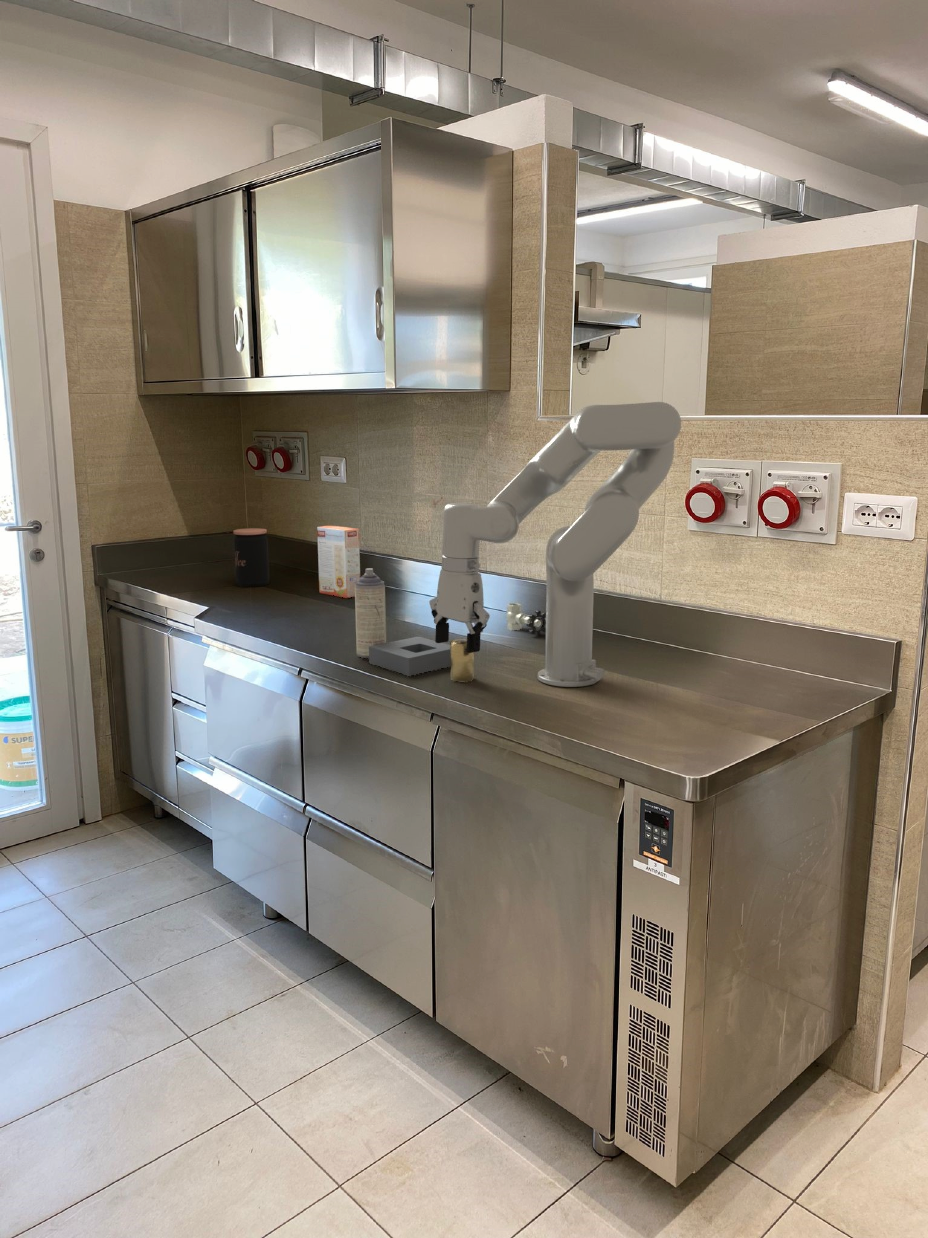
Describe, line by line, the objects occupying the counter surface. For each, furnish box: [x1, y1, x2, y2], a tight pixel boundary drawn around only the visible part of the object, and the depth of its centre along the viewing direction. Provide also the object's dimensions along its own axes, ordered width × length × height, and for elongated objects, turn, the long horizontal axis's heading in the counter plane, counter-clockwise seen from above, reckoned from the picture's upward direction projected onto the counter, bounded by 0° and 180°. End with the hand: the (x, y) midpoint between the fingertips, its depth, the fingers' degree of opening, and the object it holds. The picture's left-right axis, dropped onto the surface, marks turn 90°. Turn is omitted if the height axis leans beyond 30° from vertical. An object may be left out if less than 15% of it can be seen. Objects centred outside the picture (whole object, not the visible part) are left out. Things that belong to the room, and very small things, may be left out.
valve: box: [505, 602, 546, 637], centre depth 233 cm, size 7×7×12 cm
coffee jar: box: [232, 527, 270, 588], centre depth 300 cm, size 11×11×18 cm
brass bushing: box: [449, 638, 475, 682], centre depth 191 cm, size 5×5×8 cm
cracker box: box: [316, 525, 361, 599], centre depth 282 cm, size 14×6×21 cm, turn 44°
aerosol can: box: [354, 567, 387, 659], centre depth 209 cm, size 7×7×20 cm
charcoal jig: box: [368, 636, 451, 677], centre depth 203 cm, size 14×14×4 cm
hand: (457, 647), depth 190 cm, fingers open, 9 cm apart
